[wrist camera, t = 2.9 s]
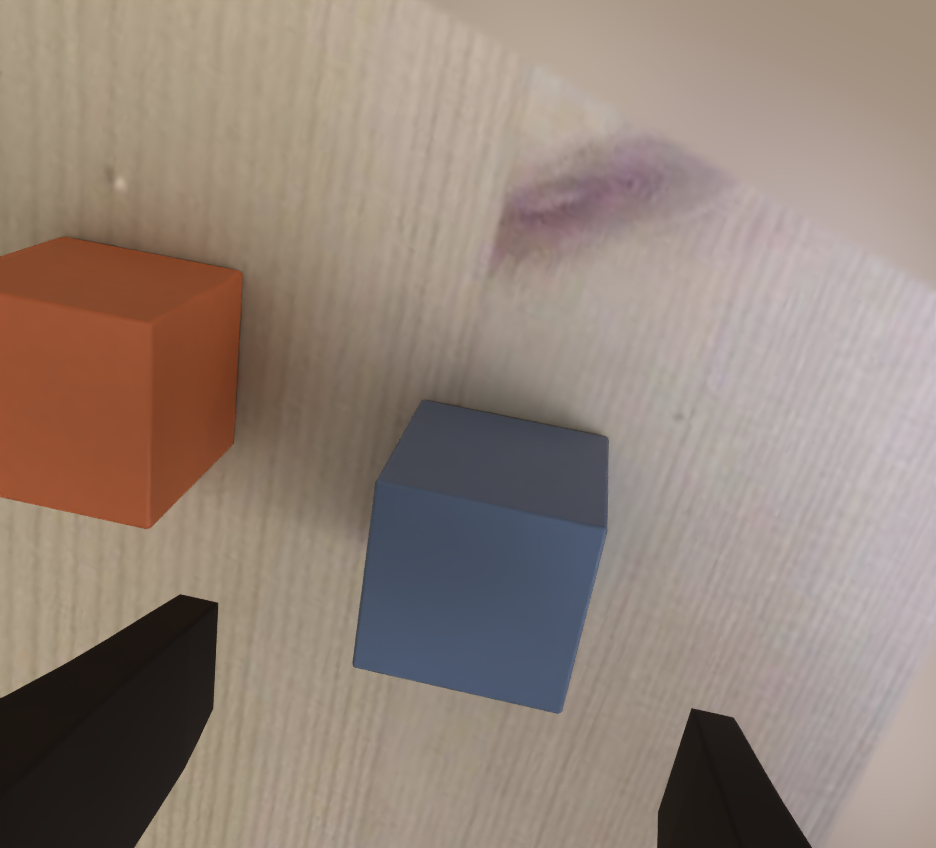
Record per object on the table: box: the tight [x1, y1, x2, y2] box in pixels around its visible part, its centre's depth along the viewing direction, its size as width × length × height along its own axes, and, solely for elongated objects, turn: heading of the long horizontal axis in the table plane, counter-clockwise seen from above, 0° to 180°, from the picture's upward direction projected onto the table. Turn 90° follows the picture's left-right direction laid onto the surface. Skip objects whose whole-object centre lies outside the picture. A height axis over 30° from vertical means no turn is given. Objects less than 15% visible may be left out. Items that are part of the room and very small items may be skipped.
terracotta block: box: [0, 237, 243, 529], centre depth 17 cm, size 4×4×4 cm
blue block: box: [353, 400, 609, 714], centre depth 18 cm, size 4×4×4 cm
